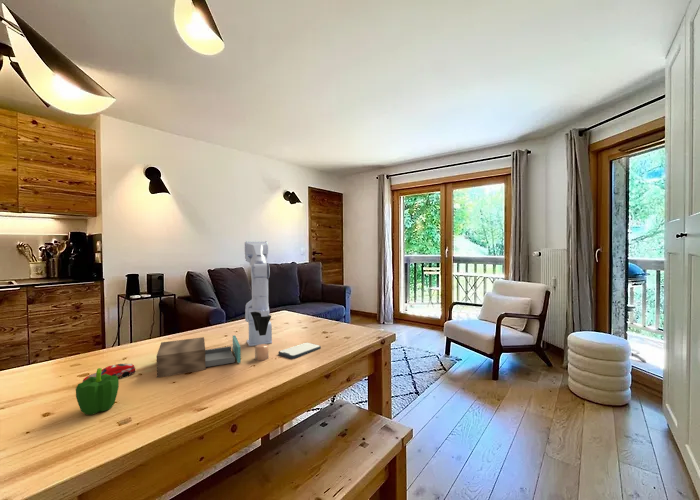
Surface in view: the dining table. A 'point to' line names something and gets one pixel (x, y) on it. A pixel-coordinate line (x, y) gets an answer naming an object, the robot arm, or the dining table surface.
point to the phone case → (299, 350)
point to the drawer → (223, 354)
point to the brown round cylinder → (261, 352)
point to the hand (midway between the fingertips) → (260, 332)
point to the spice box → (181, 357)
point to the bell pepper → (97, 393)
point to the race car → (116, 371)
